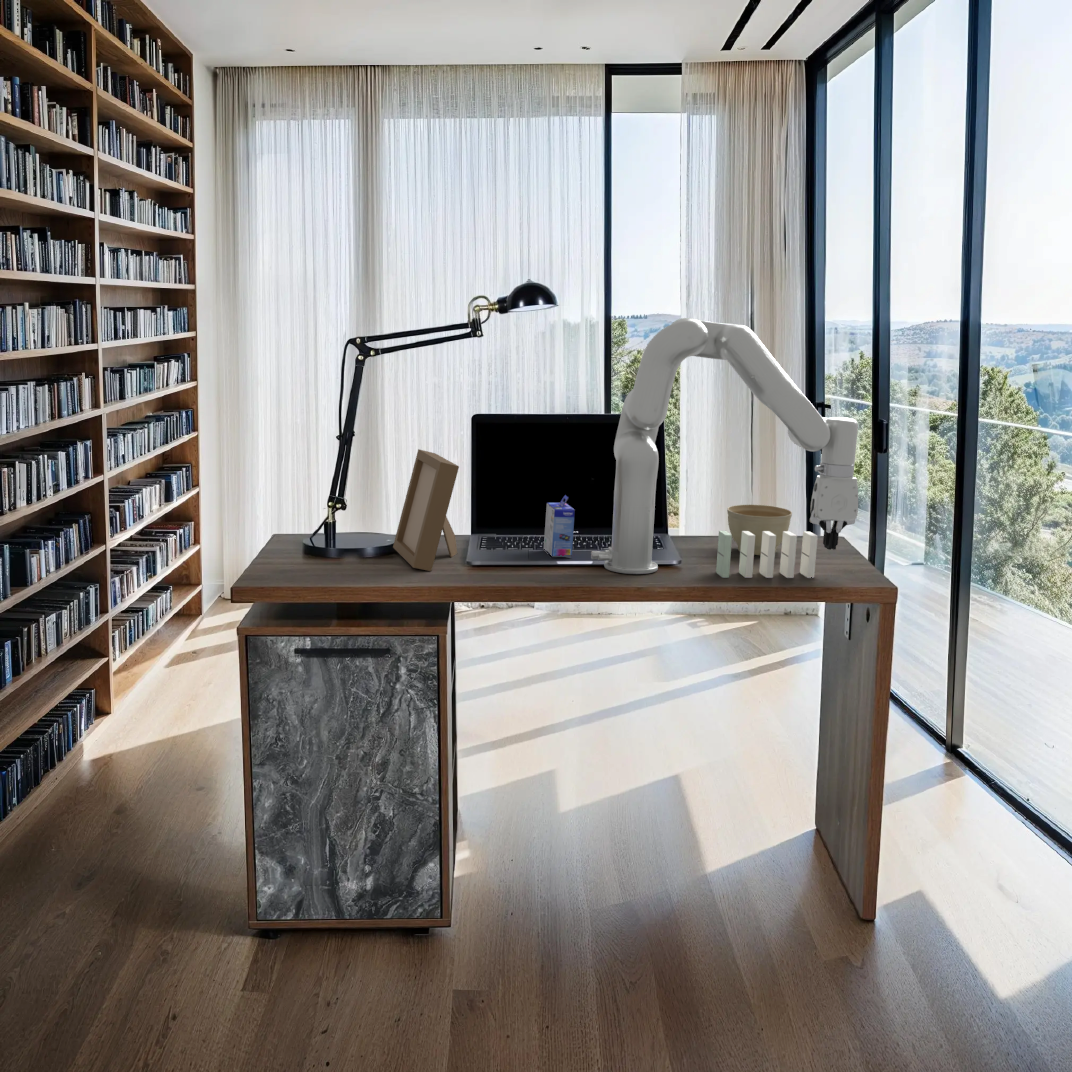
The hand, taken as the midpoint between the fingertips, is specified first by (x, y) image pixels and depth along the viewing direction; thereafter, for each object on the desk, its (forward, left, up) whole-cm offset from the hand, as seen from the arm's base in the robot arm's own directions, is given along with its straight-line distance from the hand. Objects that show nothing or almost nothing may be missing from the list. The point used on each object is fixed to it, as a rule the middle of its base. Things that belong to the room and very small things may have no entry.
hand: (829, 548), depth 267 cm
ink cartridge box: (-61, +21, -7) cm, 65 cm away
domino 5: (-5, 0, -6) cm, 8 cm away
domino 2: (-20, 0, -6) cm, 21 cm away
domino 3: (-15, 0, -6) cm, 16 cm away
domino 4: (-10, 0, -6) cm, 12 cm away
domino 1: (-26, 0, -6) cm, 26 cm away
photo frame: (-92, +14, -7) cm, 93 cm away
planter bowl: (-9, +25, -7) cm, 27 cm away
